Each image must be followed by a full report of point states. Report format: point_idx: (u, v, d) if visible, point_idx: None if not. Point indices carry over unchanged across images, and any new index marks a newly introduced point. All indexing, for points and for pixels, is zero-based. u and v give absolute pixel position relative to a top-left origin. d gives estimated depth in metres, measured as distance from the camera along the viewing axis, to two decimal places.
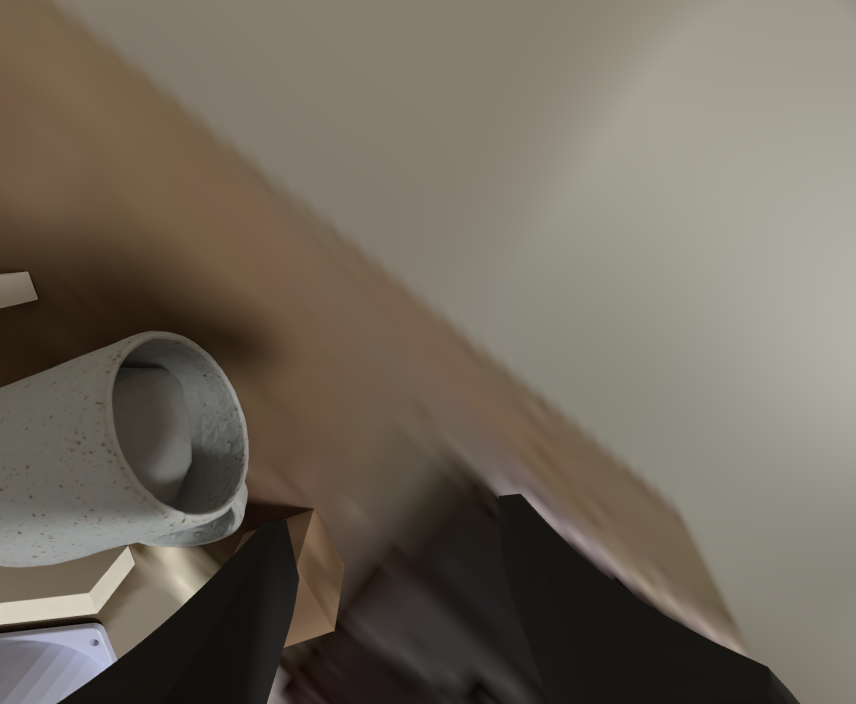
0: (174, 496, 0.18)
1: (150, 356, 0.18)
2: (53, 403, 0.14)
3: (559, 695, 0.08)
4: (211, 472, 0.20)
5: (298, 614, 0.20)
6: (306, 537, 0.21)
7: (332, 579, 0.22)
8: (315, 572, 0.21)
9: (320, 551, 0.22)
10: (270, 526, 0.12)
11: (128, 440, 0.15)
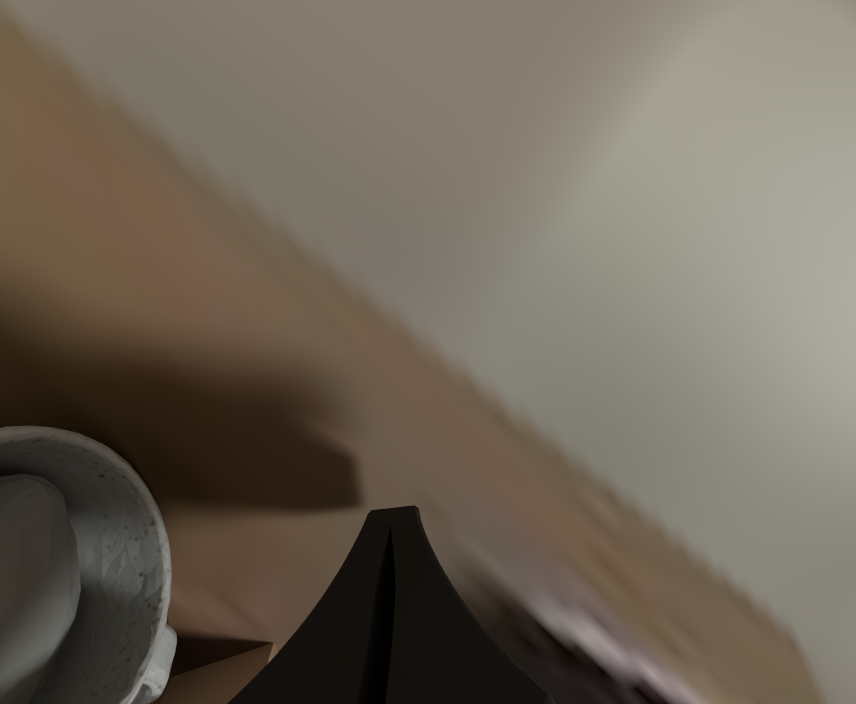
0: (28, 699, 0.11)
1: (0, 458, 0.11)
2: None
3: None
4: (109, 629, 0.13)
5: None
6: None
7: None
8: None
9: None
10: (380, 514, 0.12)
11: None
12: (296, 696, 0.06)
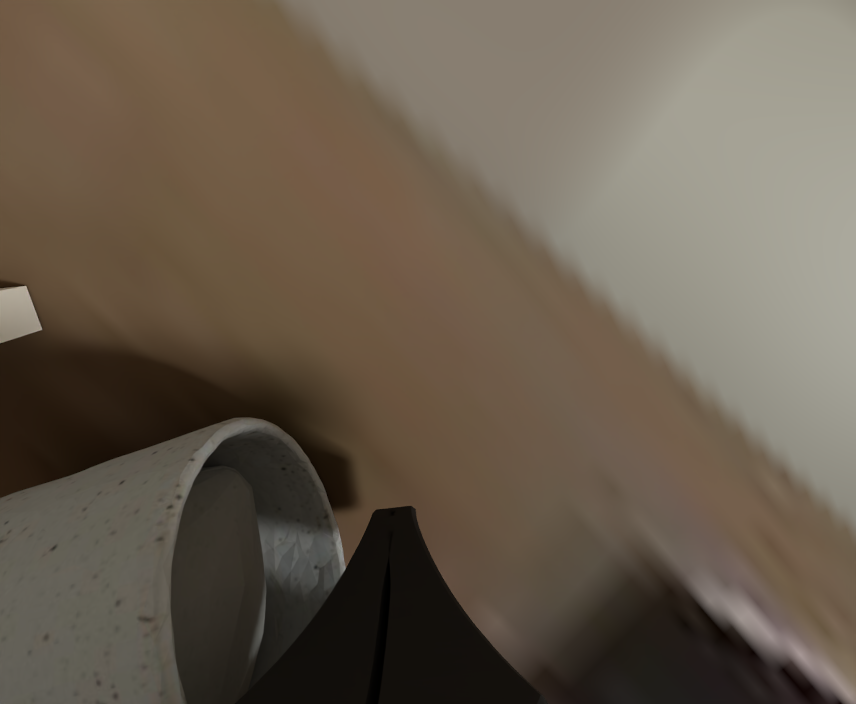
0: (248, 688, 0.11)
1: None
2: (51, 603, 0.07)
3: None
4: (292, 621, 0.13)
5: None
6: None
7: None
8: None
9: None
10: (385, 513, 0.12)
11: (186, 637, 0.08)
12: (305, 696, 0.06)
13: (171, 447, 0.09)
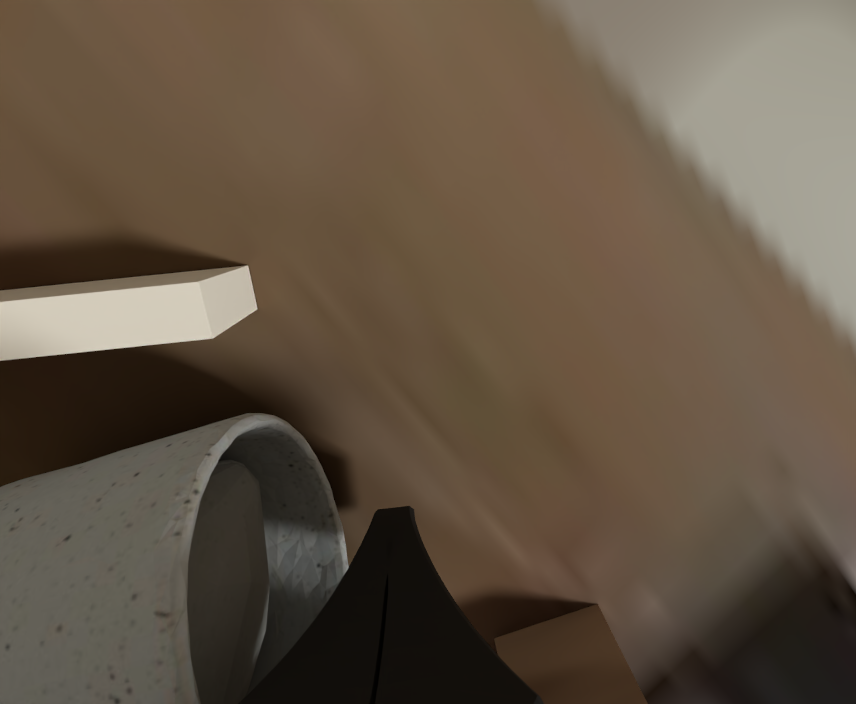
0: (249, 685, 0.11)
1: None
2: (65, 594, 0.07)
3: None
4: (293, 618, 0.13)
5: None
6: (625, 660, 0.14)
7: None
8: None
9: None
10: (387, 513, 0.12)
11: (195, 633, 0.08)
12: (309, 695, 0.06)
13: (186, 441, 0.09)
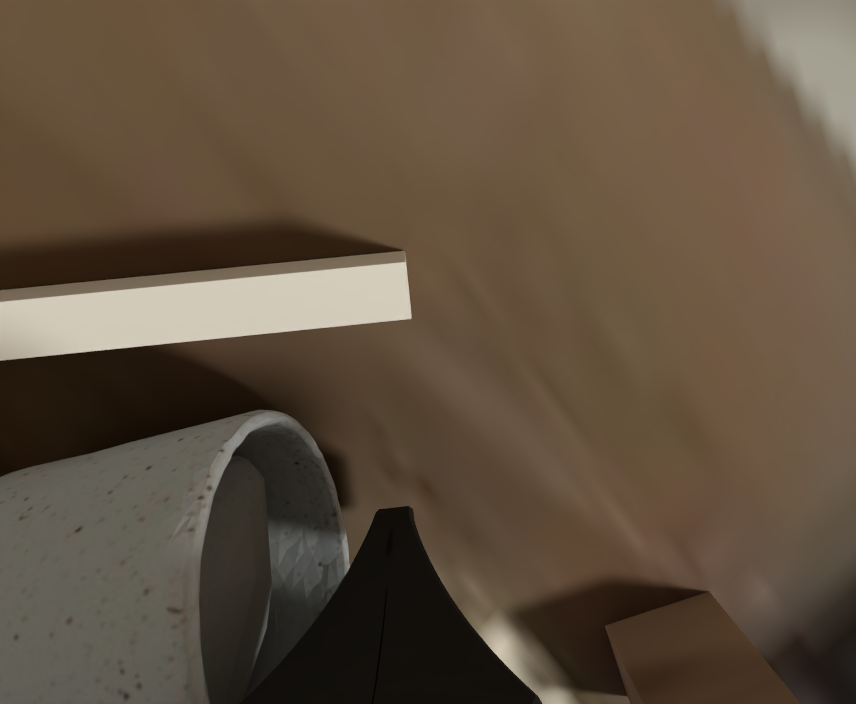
0: (249, 682, 0.11)
1: None
2: (75, 586, 0.07)
3: None
4: (293, 616, 0.13)
5: None
6: (751, 645, 0.14)
7: None
8: None
9: None
10: (388, 513, 0.12)
11: (201, 628, 0.08)
12: (311, 695, 0.06)
13: (198, 435, 0.09)
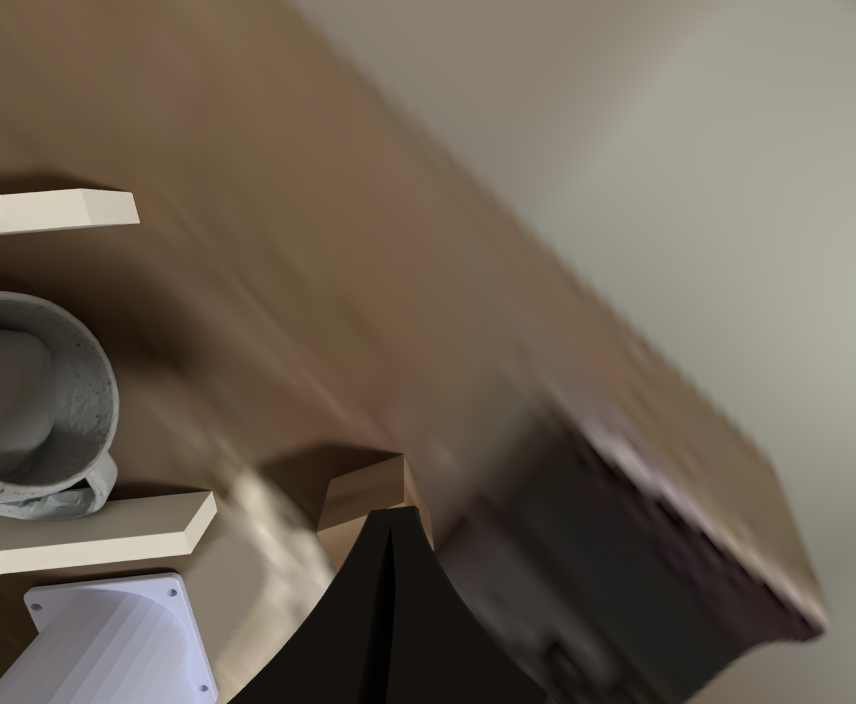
0: (16, 466, 0.17)
1: (14, 318, 0.18)
2: None
3: None
4: (71, 446, 0.19)
5: None
6: (404, 479, 0.20)
7: (426, 524, 0.21)
8: None
9: (414, 495, 0.21)
10: (380, 514, 0.12)
11: None
12: (296, 696, 0.06)
13: None
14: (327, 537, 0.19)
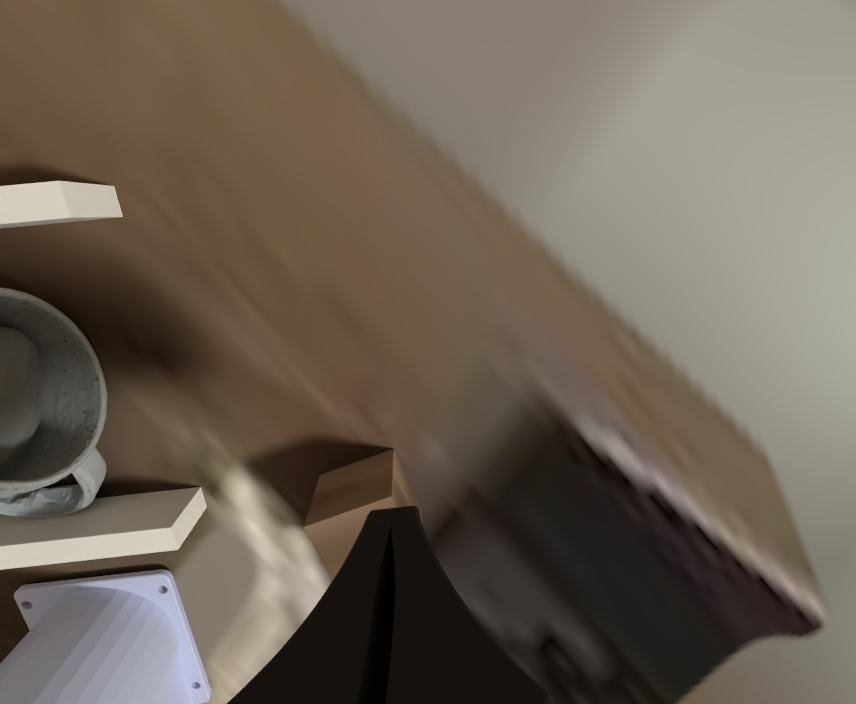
0: (1, 462, 0.17)
1: None
2: None
3: None
4: (58, 442, 0.19)
5: None
6: (393, 473, 0.20)
7: None
8: None
9: (404, 489, 0.21)
10: (380, 514, 0.12)
11: None
12: (297, 697, 0.06)
13: None
14: (315, 532, 0.19)
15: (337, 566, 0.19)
